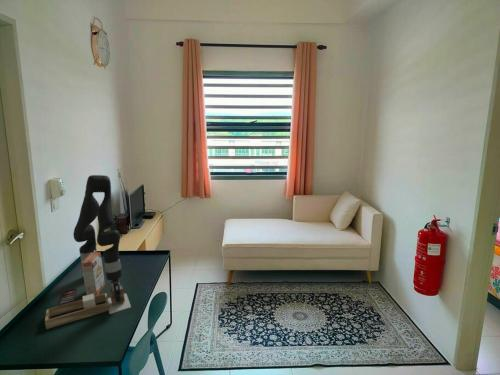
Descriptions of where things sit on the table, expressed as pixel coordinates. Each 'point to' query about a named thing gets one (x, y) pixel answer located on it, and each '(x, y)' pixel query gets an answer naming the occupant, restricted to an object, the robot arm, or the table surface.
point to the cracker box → (93, 274)
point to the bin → (75, 315)
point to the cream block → (88, 301)
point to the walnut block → (114, 295)
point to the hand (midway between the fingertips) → (117, 299)
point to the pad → (119, 305)
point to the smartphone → (68, 297)
